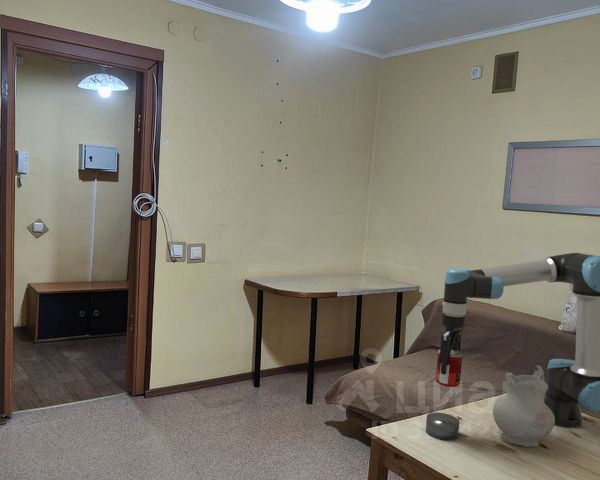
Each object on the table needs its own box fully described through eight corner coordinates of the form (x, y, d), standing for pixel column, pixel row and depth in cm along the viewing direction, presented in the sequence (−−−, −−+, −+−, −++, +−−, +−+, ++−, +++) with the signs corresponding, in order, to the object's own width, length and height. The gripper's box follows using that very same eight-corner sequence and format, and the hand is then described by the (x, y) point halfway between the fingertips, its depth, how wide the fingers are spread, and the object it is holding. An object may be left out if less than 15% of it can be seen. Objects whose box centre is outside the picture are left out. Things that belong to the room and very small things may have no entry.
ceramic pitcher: (502, 423, 193) (503, 357, 192) (560, 436, 182) (561, 366, 181) (486, 444, 175) (486, 371, 174) (548, 459, 164) (550, 382, 163)
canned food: (460, 388, 173) (463, 356, 172) (436, 385, 174) (439, 353, 173) (458, 380, 180) (461, 350, 179) (434, 378, 182) (437, 347, 181)
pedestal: (462, 432, 180) (464, 419, 180) (451, 443, 171) (452, 429, 171) (432, 423, 187) (433, 409, 186) (420, 433, 178) (421, 419, 178)
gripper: (453, 308, 186) (447, 370, 188) (431, 316, 169) (425, 384, 171) (474, 312, 181) (468, 375, 183) (454, 321, 165) (448, 390, 167)
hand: (447, 379), depth 177 cm, fingers closed on canned food, 8 cm apart
